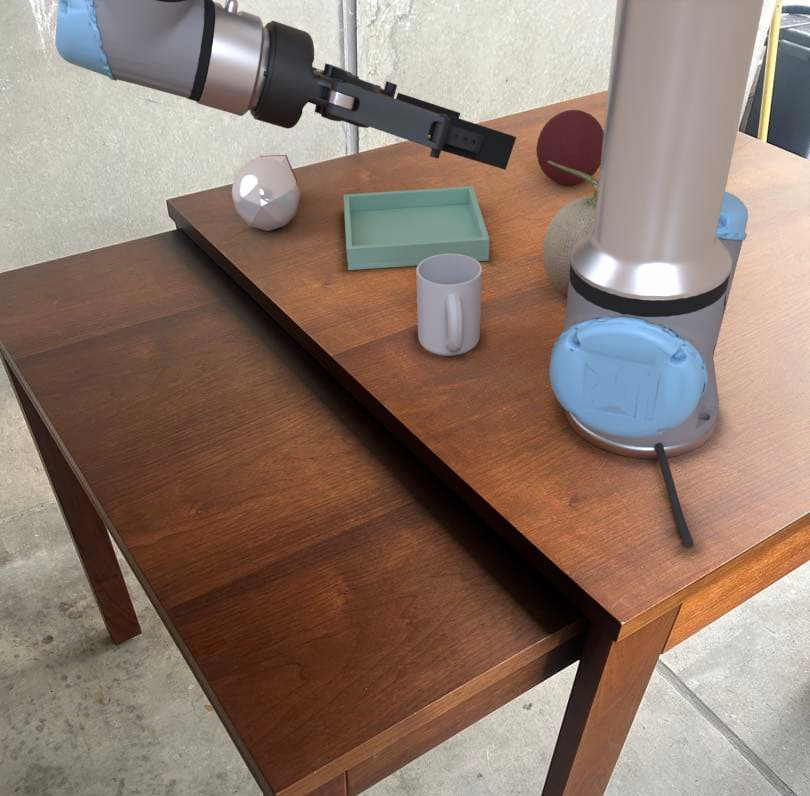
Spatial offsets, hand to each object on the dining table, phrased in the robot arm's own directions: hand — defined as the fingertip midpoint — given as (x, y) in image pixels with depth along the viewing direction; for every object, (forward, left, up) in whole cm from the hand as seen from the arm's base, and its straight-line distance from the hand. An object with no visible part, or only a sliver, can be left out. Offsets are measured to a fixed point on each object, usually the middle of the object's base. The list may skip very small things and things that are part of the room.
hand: (480, 139), depth 80 cm
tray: (+31, +4, -24) cm, 40 cm away
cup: (+3, +2, -24) cm, 25 cm away
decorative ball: (+45, -20, -19) cm, 53 cm away
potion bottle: (+40, +24, -24) cm, 53 cm away
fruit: (+13, -16, -24) cm, 32 cm away
